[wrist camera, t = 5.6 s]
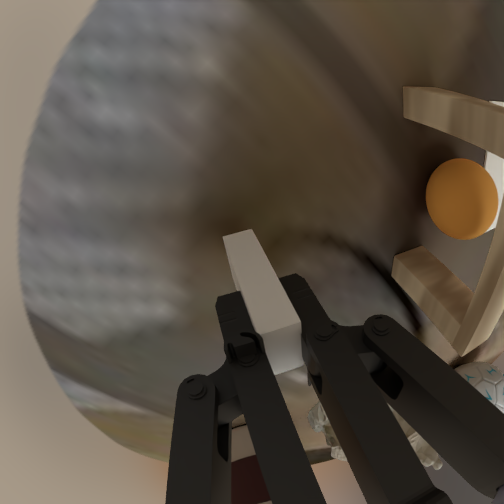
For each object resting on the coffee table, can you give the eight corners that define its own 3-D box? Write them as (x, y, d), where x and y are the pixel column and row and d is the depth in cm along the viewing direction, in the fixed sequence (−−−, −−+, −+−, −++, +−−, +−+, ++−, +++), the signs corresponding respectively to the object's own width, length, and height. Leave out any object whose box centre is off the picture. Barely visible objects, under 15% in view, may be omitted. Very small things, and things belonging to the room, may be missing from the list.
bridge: (435, 87, 15) (556, 128, 8) (418, 264, 23) (488, 338, 16) (402, 86, 15) (535, 128, 7) (391, 275, 23) (461, 357, 16)
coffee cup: (188, 443, 31) (215, 557, 19) (249, 409, 29) (294, 540, 17) (244, 453, 36) (274, 545, 24) (300, 422, 34) (343, 523, 22)
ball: (471, 147, 18) (520, 176, 13) (462, 211, 21) (501, 249, 16) (414, 148, 18) (462, 180, 13) (408, 218, 21) (445, 262, 16)
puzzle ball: (408, 396, 41) (450, 465, 29) (477, 333, 38) (528, 398, 26) (427, 404, 50) (460, 458, 38) (482, 355, 46) (521, 406, 34)
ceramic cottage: (314, 395, 31) (371, 512, 19) (424, 349, 34) (482, 436, 23) (295, 439, 40) (332, 521, 28) (385, 403, 44) (424, 472, 32)
